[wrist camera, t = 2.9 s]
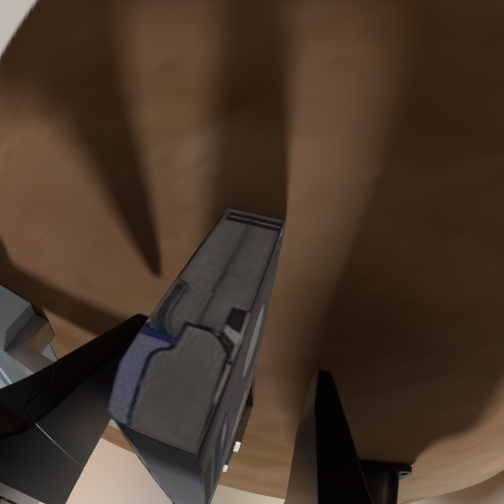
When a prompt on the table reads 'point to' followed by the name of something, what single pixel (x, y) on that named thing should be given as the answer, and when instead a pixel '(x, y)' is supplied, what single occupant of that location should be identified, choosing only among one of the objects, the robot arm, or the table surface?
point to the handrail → (31, 360)
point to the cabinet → (14, 333)
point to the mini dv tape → (199, 358)
